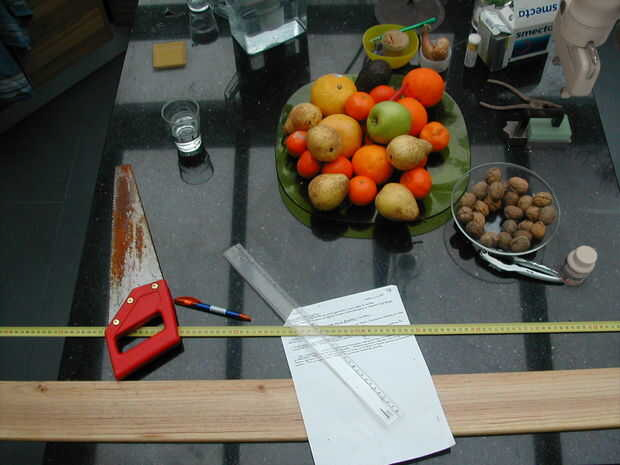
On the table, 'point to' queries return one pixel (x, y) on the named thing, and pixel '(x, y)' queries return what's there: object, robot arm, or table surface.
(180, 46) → the yellow kitchen sponge
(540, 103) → the pliers
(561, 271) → the pill bottle
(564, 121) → the iron
